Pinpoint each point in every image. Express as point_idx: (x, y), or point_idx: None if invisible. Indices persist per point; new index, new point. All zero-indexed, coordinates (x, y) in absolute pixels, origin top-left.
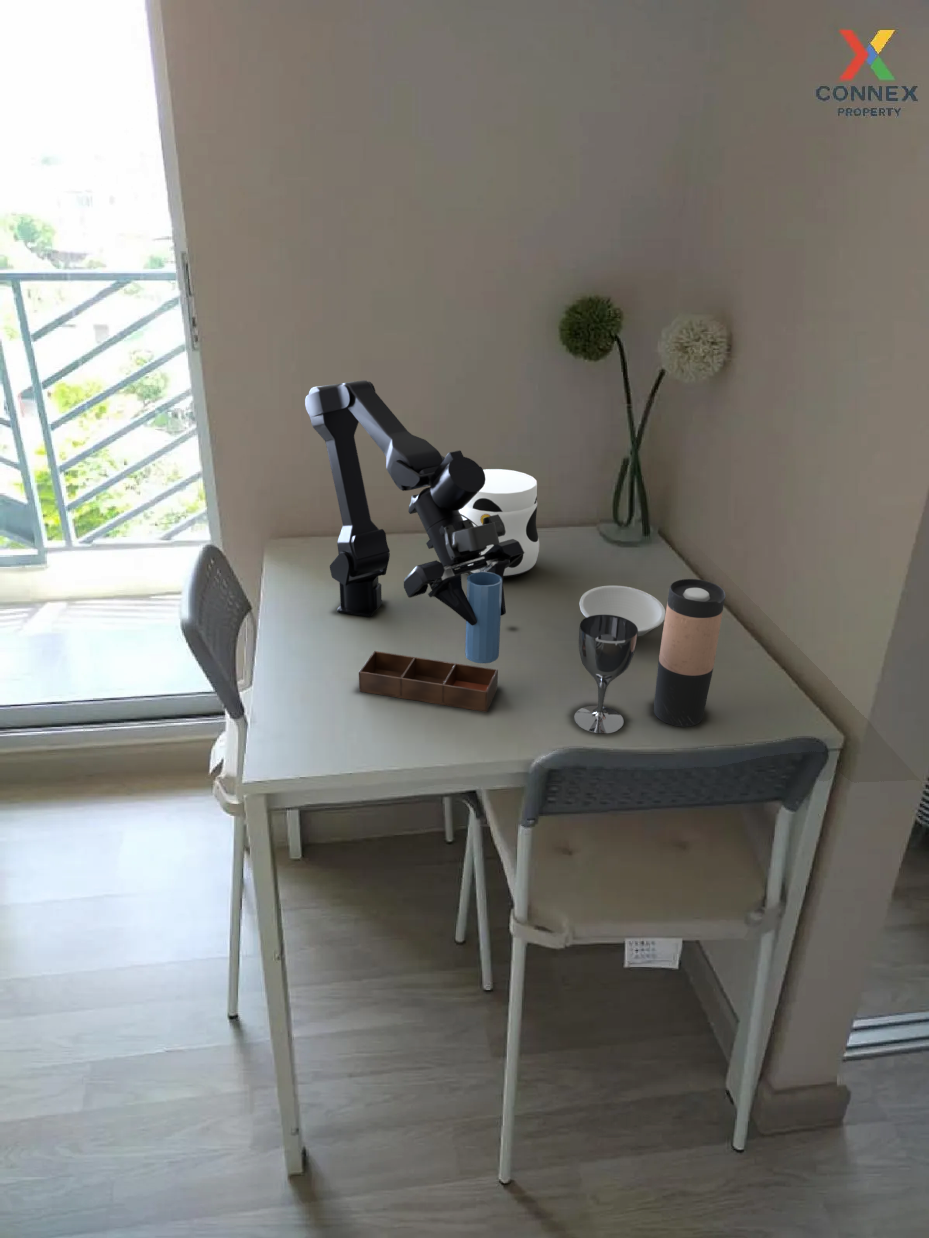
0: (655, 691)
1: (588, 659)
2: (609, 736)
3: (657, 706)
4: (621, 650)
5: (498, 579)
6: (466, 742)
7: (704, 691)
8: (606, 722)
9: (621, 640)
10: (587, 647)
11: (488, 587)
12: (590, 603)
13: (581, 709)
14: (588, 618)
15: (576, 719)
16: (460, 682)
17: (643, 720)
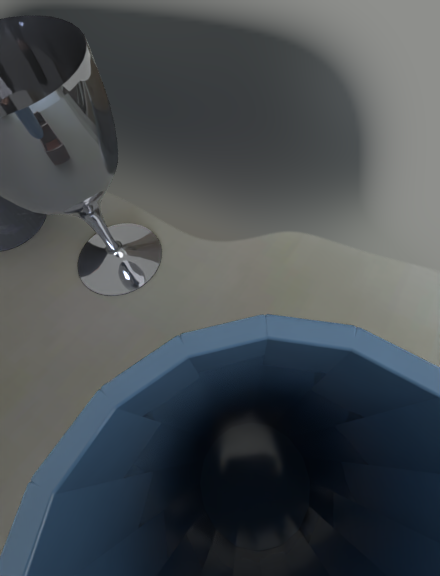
0: (6, 214)
1: (114, 127)
2: (142, 218)
3: (31, 213)
4: (54, 52)
5: (58, 544)
6: (372, 303)
7: None
8: (122, 235)
9: None
10: (103, 93)
11: (349, 331)
12: None
13: (121, 290)
14: None
15: (152, 270)
16: None
17: (66, 227)
